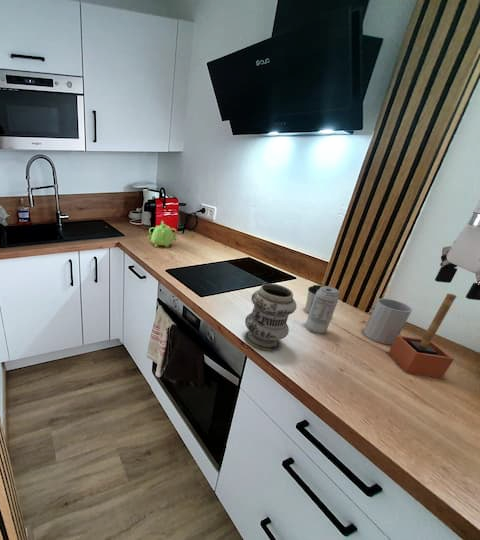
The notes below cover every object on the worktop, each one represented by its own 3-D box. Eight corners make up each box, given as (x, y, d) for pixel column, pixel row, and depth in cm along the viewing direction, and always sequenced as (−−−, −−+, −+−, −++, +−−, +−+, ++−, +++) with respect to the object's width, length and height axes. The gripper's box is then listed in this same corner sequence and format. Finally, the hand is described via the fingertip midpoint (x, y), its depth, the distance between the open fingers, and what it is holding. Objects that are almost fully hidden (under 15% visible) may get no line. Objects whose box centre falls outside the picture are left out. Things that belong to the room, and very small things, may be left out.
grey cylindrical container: (385, 331, 95) (401, 300, 91) (401, 346, 88) (418, 313, 83) (358, 327, 97) (372, 296, 92) (371, 342, 90) (386, 309, 85)
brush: (417, 360, 82) (455, 292, 73) (427, 369, 78) (468, 299, 69) (400, 357, 83) (436, 290, 74) (409, 366, 79) (448, 297, 70)
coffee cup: (315, 318, 102) (324, 294, 98) (297, 309, 107) (304, 285, 103) (327, 314, 104) (336, 290, 100) (309, 305, 110) (316, 282, 106)
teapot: (143, 242, 177) (144, 222, 172) (160, 239, 185) (162, 220, 179) (160, 250, 165) (162, 228, 160) (178, 246, 172) (180, 225, 167)
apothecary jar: (264, 357, 82) (280, 303, 74) (233, 334, 91) (244, 284, 84) (292, 347, 86) (310, 294, 79) (259, 325, 96) (272, 277, 89)
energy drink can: (329, 330, 95) (344, 290, 89) (320, 336, 92) (335, 295, 86) (310, 321, 100) (323, 283, 94) (301, 326, 97) (314, 287, 91)
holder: (420, 358, 83) (430, 340, 81) (442, 378, 76) (454, 359, 74) (387, 353, 85) (397, 335, 83) (406, 372, 78) (416, 353, 75)
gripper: (559, 234, 56) (510, 309, 62) (480, 215, 71) (448, 277, 78) (510, 231, 57) (468, 305, 64) (444, 213, 73) (415, 274, 80)
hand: (457, 289), depth 71 cm, fingers open, 9 cm apart
